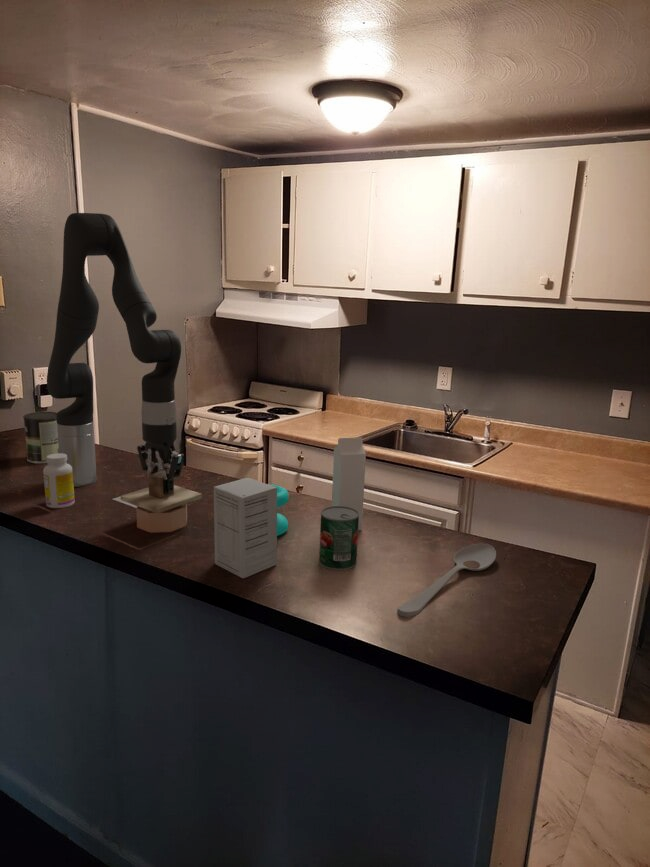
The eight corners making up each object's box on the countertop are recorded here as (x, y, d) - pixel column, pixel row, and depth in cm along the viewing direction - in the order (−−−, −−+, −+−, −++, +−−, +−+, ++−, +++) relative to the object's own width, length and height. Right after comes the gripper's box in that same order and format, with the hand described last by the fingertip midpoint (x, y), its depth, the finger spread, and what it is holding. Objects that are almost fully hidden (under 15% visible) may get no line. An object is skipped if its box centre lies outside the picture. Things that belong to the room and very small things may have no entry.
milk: (361, 530, 142) (367, 440, 136) (337, 532, 140) (342, 441, 135) (353, 520, 147) (358, 434, 142) (330, 522, 146) (334, 434, 140)
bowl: (128, 525, 139) (127, 505, 138) (165, 511, 148) (164, 492, 147) (159, 537, 133) (159, 516, 132) (196, 523, 142) (196, 503, 141)
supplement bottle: (79, 501, 153) (76, 453, 150) (66, 510, 147) (62, 460, 144) (55, 499, 154) (51, 451, 151) (40, 508, 147) (36, 458, 144)
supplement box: (278, 565, 123) (279, 487, 119) (243, 580, 116) (243, 498, 112) (248, 550, 129) (248, 476, 125) (213, 563, 122) (212, 485, 118)
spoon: (470, 549, 134) (471, 538, 133) (504, 559, 129) (505, 548, 128) (381, 616, 108) (382, 603, 107) (419, 632, 103) (420, 618, 103)
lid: (120, 499, 138) (119, 475, 136) (165, 486, 148) (164, 462, 147) (158, 513, 130) (157, 487, 129) (202, 497, 141) (201, 473, 139)
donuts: (238, 486, 139) (277, 480, 144) (238, 526, 141) (276, 519, 146) (256, 500, 131) (296, 493, 136) (256, 542, 133) (295, 534, 138)
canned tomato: (311, 559, 126) (313, 510, 123) (340, 550, 130) (342, 503, 128) (334, 574, 120) (336, 523, 117) (364, 564, 124) (367, 514, 122)
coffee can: (23, 464, 181) (19, 419, 178) (31, 455, 191) (27, 411, 187) (60, 463, 183) (56, 418, 180) (65, 454, 193) (62, 411, 190)
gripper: (125, 417, 136) (128, 489, 140) (167, 427, 128) (169, 503, 132) (151, 412, 142) (154, 481, 146) (193, 421, 134) (195, 494, 138)
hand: (161, 491), depth 139 cm, fingers closed on lid, 4 cm apart
